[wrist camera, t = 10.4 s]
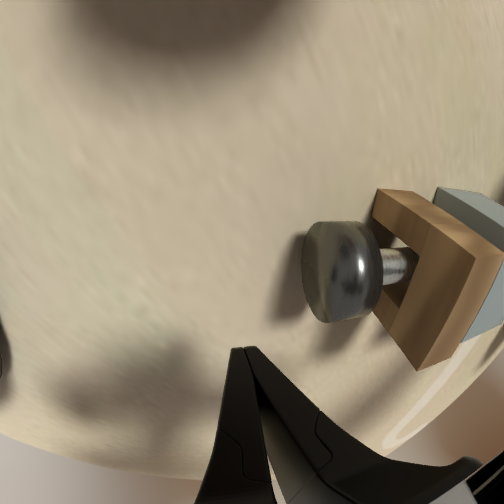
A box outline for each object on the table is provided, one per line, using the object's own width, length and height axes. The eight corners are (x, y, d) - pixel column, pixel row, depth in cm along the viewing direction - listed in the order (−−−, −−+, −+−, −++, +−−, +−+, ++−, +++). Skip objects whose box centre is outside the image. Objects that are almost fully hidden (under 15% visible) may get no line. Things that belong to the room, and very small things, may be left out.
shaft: (460, 211, 19) (507, 243, 15) (440, 267, 21) (480, 304, 17) (310, 205, 16) (357, 254, 12) (296, 284, 18) (330, 343, 14)
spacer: (412, 191, 17) (505, 254, 11) (385, 281, 21) (450, 357, 14) (377, 188, 17) (476, 258, 10) (352, 285, 20) (416, 371, 13)
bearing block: (480, 193, 19) (544, 233, 13) (451, 276, 23) (501, 324, 17) (438, 187, 18) (514, 234, 12) (407, 283, 22) (461, 342, 16)
